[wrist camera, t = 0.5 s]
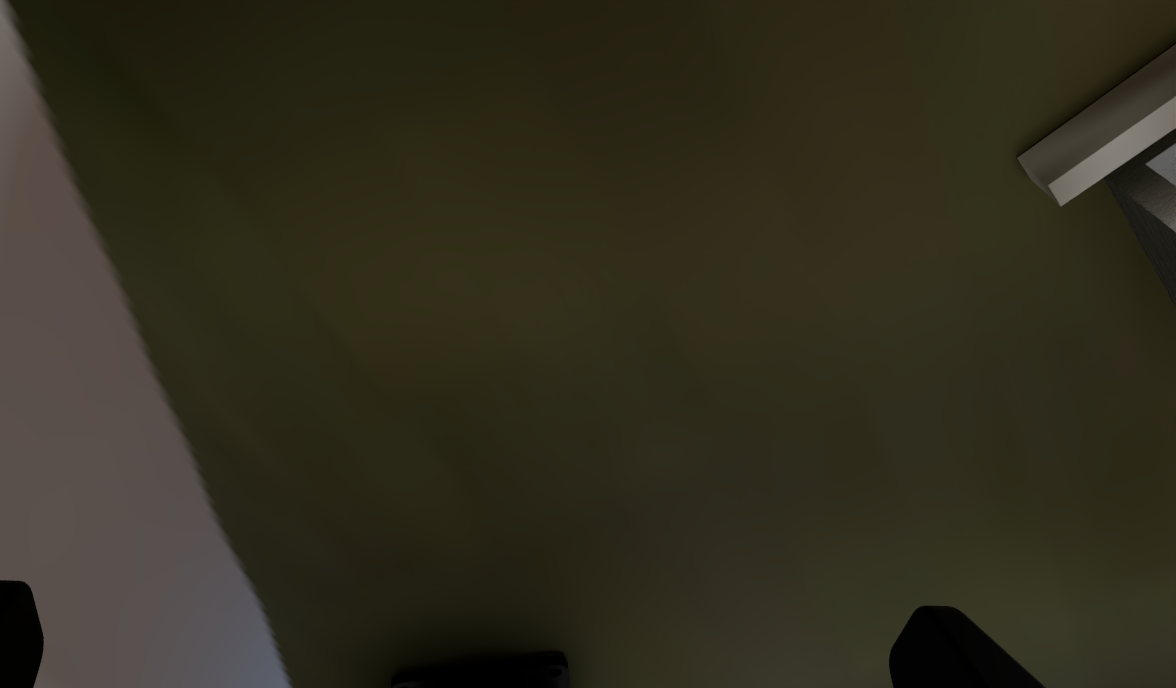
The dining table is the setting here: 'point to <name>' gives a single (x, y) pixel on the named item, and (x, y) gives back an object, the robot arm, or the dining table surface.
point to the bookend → (1151, 204)
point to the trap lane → (1106, 132)
